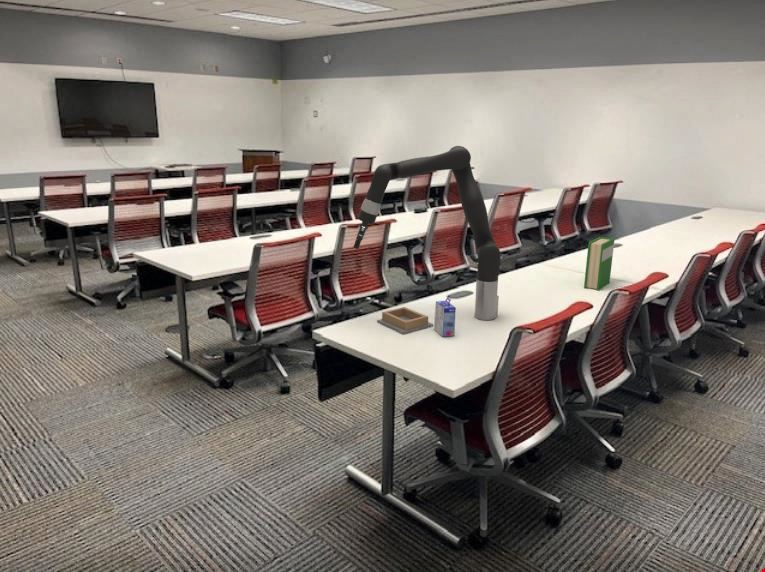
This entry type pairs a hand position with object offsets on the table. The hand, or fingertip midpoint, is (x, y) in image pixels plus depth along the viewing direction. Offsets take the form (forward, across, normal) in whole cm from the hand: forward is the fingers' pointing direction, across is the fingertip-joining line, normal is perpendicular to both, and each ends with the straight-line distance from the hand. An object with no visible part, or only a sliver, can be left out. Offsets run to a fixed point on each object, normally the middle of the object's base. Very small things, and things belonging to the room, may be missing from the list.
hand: (356, 246), depth 245 cm
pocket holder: (+22, -11, -31) cm, 39 cm away
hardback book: (-13, +49, -125) cm, 135 cm away
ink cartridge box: (+16, -20, -46) cm, 53 cm away
